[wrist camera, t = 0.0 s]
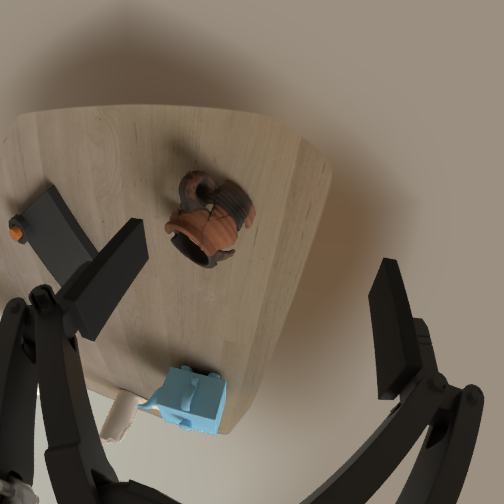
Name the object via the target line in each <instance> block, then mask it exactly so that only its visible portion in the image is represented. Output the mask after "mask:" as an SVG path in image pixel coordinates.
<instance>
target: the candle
mask: <svg viewBox="0 0 504 504" xmlns="http://www.w3.org/2000/svg"><path fill="white" fill-rule="evenodd" d="M147 401H148V400H146V399H144V398H142V397H140V396H138V395H136V394H133V393H131V392H129V391H127V390H123V389H121V390H120V391H119V393H118V395H117V397H116V399H115V401H114V404H113V405H112V408H111V410H110V412H109V414H108V416H107V418H106V420H105V423H104V425H103V427H102V429H101V432H100V434H99V437H100V440H101V443H102V446H104V443H106V444H108V445H109V444H110V443H116V444H118V443H119V442H121V441H122V440H123V439H124V437H125V435H126V434H127V432H128V431H129V428H130V426H131V424H132V420H133V418H134V416H135V413H136V411H137V409H138V407H137V406H135V405H139V404H144V403H146V402H147ZM152 408H153V409H157V410H159V409H158V406H157V405H154V406H153V407H152Z"/></svg>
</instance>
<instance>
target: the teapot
mask: <svg viewBox="0 0 504 504" xmlns="http://www.w3.org/2000/svg"><path fill="white" fill-rule="evenodd" d="M181 369H182V370H181ZM181 369H178V368H174V367H170V369H169V372H168V374H167V376H166V379H165V381H164V384H163V386H162V387H160V388H159V389H157V390H156V391H155V393H154V394H153V395H152V397H151V398H150V399H149V400H148V401H147V402H146V403H144V404H139V405H135V406H137V407H139V408H142V409H150V408H152V407H153V406H154V405H155V404H157V406H158V409H159V411H160V413H161V415H162V417H163V419H164V421H166V422H169V423H172V424H176V425H178V426H179V427H180V428H182V429H184V430H188V431H189V430H190V431H191V430H192V429H193V430H197V431H200V432H204V433H208V434H213V435H216V434H217V431H218V427H219V424H220V420H221V416H222V413H223V409H224V405H225V402H226V380H222V379H220V375H218V374H216V373H209V375H208V376H205V375H201V374H197V373H193V372H192V369H191V368H190V367H188V366H181Z"/></svg>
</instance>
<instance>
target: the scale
mask: <svg viewBox="0 0 504 504" xmlns="http://www.w3.org/2000/svg"><path fill="white" fill-rule="evenodd" d="M15 225H17V226H18V227H19V228H20V230H21V232H22V237H21V238H20V239H19V240H17V241H18V242H19V243H21V244H25V243H26V242H27V241H28V242H29V244H30V245H31V247H32V248H33V250H34V251H35V252H36V254H37V255H38V257H39V258H40V259H41V261H42V262H43V264H44V265H45V266H46V268H47V269H48V270H49V272H50V273H51V274H52V276H53V277H54V278H55V280H56V281H57V282H58V283H59V285H60V286H61V287H62V286H63V285H64V284H65V283H66V281H67V280H68V279H69V278H70V277H71V275H72V274H74V272H75V271H76V270H77V268H78V267H79V266H80V265H82V264H83V263H85V262H86V261H91V262H92V261H93V259H94V258H95V257H96V256H97V255H98V254H99V253H98V252H97V250H96V249H95V247H94V246H93V245H92V243H91V242H90V240H89V239H88V237H87V236H86V234H85V233H84V231H83V230H82V228H81V227H80V225H79V224H78V222H77V221H76V219H75V218H74V216H73V215H72V213H71V212H70V210H69V208H68V207H67V205H66V204H65V202H64V200H63V199H62V197H61V196H60V194H59V192H58V191H57V189H56V187H55V186H52V187H51V188H49V189H48V190H47V191H46V192H44V193H43V194H42V195H41V196H40V197H39V198H38V199H37V200H36V201H35V202H34V203H33V204H32V205H31V206H30V207H28V208H27V209H26V210H25V211H24V212H23V213H22V214H21V215H18V214H16V215H15V216H14V217H12V218H11V219H10V220H9V229H11V228H12V227H13V226H15Z"/></svg>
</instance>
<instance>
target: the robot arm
mask: <svg viewBox="0 0 504 504" xmlns="http://www.w3.org/2000/svg"><path fill="white" fill-rule="evenodd" d="M148 259H149V256H148V250H147V244H146V238H145V231H144V225H143V219H136V218H131V219H130V220H129V221H128V222H127V223H126V224H125V225H124V226H123V227H122V228H121V229H120V230H119V231H118V232H117V234H116V235H115V236H114V237H113V238H112V239H111V240H110V241H109V242H108V243H107V245H106V246H105V247H104V248H103V249H102V250H101V251H100V252H99V254H98V255H97V256H96V257H95V258H94V259H93V261H92V262H91V261H86V262H85V263H83V264H82V265H80V266H79V267H78V268H77V270H76V271H75V272H74V274H72V275H71V277H70V278H69V279H68V280H67V281H66V283H65V284H64V285H63V286H62V287H61V289H60V290H59V291H58V292H57V294H56V295H55V294H54V292H53V289H52V287H51V286H49V285H46V284H43V285H39V286H37V287H35V288H34V289H33V290H32V291H31V292H30V294H29V297H28V298H29V300H30V302H31V304H32V305H27V304H26V303H25V301H24V299H23V298H20V297H17V298H14V299H12V300H10V301H9V302H8V303H7V305H6V307H5V309H4V312H3V315H2V318H1V321H0V504H38V503H39V497H38V496H37V495H36V494H35V492H34V491H33V489H32V485H33V477H34V476H33V475H34V426H35V410H36V399H37V389H38V385H39V393H40V400H41V408H42V414H43V420H44V425H45V431H46V436H47V441H48V449H47V450H46V451H45V454H44V456H45V462H46V466H47V470H48V474H49V477H50V481H51V484H52V488H53V491H54V494H55V497H56V500H57V503H58V504H181V503H179V502H177V501H176V500H174V499H172V498H170V497H169V496H167V495H165V494H163V493H161V492H160V491H158V490H156V489H154V488H151V487H148V486H146V485H143V484H140V483H138V482H135V481H133V480H129V482H119V480H118V478H117V476H116V473H115V471H114V470H113V468H112V466H111V465H110V464H109V462H108V460H107V458H106V455H105V452H104V449H103V446H102V443H101V440H100V437H99V434H98V430H97V427H96V424H95V420H94V416H93V413H92V409H91V405H90V401H89V397H88V394H87V389H86V385H85V380H84V375H83V371H82V366H81V360H80V355H79V349H78V343H77V338H76V336H75V334H76V332H77V331H78V330H79V332H80V334H81V336H82V337H83V338H86V339H89V340H91V341H95V340H96V338H97V336H98V335H99V333H100V331H101V330H102V328H103V327H104V325H105V323H106V322H107V320H108V319H109V317H110V316H111V314H112V312H113V311H114V309H115V308H116V306H117V305H118V303H119V302H120V300H121V299H122V297H123V296H124V294H125V293H126V291H127V290H128V288H129V287H130V285H131V284H132V282H133V281H134V279H135V278H136V276H137V275H138V273H139V272H140V270H141V269H142V268H143V266H144V265H145V263H146V262H147V260H148ZM368 299H369V306H370V313H371V321H372V329H373V338H374V348H375V359H376V371H377V385H378V399H380V400H394V399H395V398H396V397H397V396H398V395H399V394H400V402H399V403H398V404H397V405H396V406H395V407H394V408H393V409H392V410H391V411H390V412H391V413H390V414H389V415H388V417H387V418H386V419H385V420H384V421H383V423H382V424H381V425H380V426H379V427H378V428H377V430H376V431H375V432H374V433H373V434H372V436H370V438H369V439H368V440H367V441H366V442H365V443H364V444H363V445H362V446H361V447H360V448H359V449H358V450H357V451H356V452H355V454H354V455H353V456H352V457H351V458H350V459H349V460H348V461H347V462H346V463H345V464H344V465H343V466H342V467H341V468H339V469H338V470H337V471H336V472H335V473H334V474H333V475H332V476H331V477H330V478H329V479H328V480H327V481H326V482H325V483H323V484H322V485H321V486H320V487H319V488H318V489H317V490H315V491H314V492H313V493H312V494H311V495H310V496H308V497H307V498H306V499H305V500H303V501H302V502H301V503H300V504H365V503H366V502H367V501H368V500H369V499H370V498H371V496H373V494H374V493H375V492H376V491H377V490H378V489H379V488H380V487H381V485H382V484H383V483H384V482H385V481H386V480H387V478H388V477H389V476H390V475H391V474H392V472H393V471H394V470H395V469H396V468H397V466H398V465H399V464H400V462H401V461H402V460H403V458H404V457H405V456H406V455H407V453H408V452H409V451H410V449H411V448H412V446H413V445H414V444H415V442H416V441H417V439H418V438H419V436H420V435H421V434H422V432H423V431H424V429H425V428H426V426H427V425H429V428H428V431H427V434H426V437H425V439H424V442H423V445H422V447H421V450H420V452H419V455H418V457H417V459H416V462H415V464H414V466H413V469H412V471H411V473H410V475H409V477H408V480H407V482H406V484H405V486H404V488H403V490H402V492H401V494H400V496H399V498H398V500H397V502H396V504H456V503H457V500H458V498H459V495H460V492H461V490H462V487H463V484H464V481H465V478H466V475H467V472H468V468H469V465H470V462H471V458H472V455H473V451H474V447H475V444H476V439H477V435H478V431H479V426H480V421H481V416H482V411H483V406H484V395H483V392H482V391H481V389H480V388H479V387H477V386H476V385H473V384H470V385H467V386H466V387H465V388H464V389H460V388H457V387H454V386H451V385H449V384H448V382H447V380H446V378H445V377H444V376H443V374H441V373H439V372H438V368H437V364H436V359H435V354H434V351H433V346H432V342H431V338H430V334H429V330H428V327H427V325H426V324H425V322H424V321H423V319H421V318H413V317H412V313H411V309H410V305H409V301H408V298H407V294H406V290H405V287H404V283H403V280H402V276H401V273H400V270H399V266H398V263H397V260H394V259H389V258H383V260H382V263H381V265H380V268H379V270H378V273H377V275H376V278H375V280H374V283H373V285H372V288H371V290H370V292H369V295H368Z"/></svg>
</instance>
